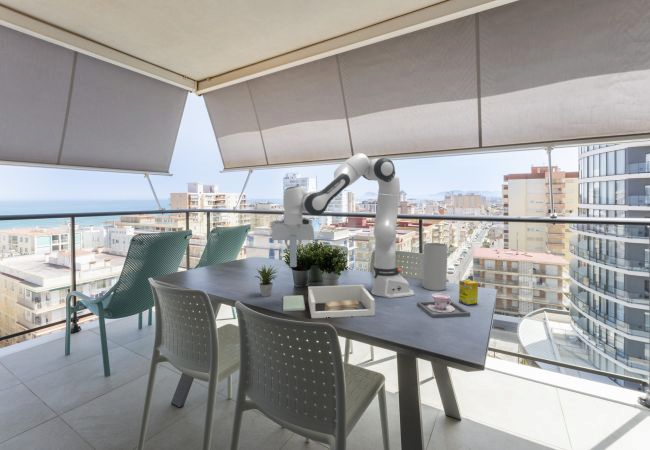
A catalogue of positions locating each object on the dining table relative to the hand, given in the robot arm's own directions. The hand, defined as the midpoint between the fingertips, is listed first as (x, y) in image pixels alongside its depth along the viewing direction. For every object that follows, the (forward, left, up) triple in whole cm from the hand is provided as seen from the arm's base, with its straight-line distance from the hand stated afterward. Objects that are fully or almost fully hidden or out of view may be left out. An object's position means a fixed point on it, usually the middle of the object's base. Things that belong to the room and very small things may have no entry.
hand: (293, 249), depth 158 cm
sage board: (0, 0, -27) cm, 27 cm away
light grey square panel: (0, 0, -7) cm, 7 cm away
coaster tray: (-67, +18, -27) cm, 74 cm away
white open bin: (-21, +10, -27) cm, 35 cm away
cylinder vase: (-80, -18, -27) cm, 86 cm away
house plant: (+14, -15, -27) cm, 34 cm away
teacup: (-68, +15, -27) cm, 75 cm away
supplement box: (-84, +10, -27) cm, 89 cm away
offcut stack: (-21, +15, -27) cm, 37 cm away
